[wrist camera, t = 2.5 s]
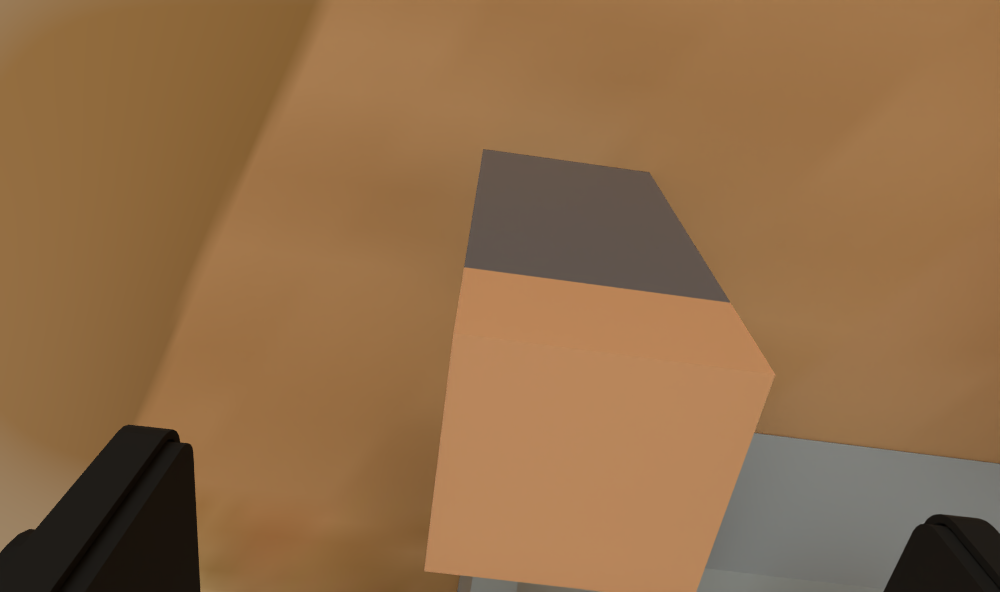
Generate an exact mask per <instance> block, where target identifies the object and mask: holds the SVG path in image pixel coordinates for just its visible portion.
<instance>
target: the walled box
mask: <svg viewBox="0 0 1000 592" xmlns="http://www.w3.org/2000/svg"><path fill="white" fill-rule="evenodd" d="M935 514H945V515H954V516H963V517H972V518H980V519H982V520H985V521H987V522H988V523H990V524H991V525H992V526H993V527H994V528H995V529H996V530H997V531H998V532H999V533H1000V464H997V463H989V462H981V461H973V460H965V459H957V458H949V457H941V456H933V455H925V454H917V453H909V452H901V451H893V450H885V449H877V448H869V447H861V446H853V445H845V444H837V443H829V442H821V441H813V440H805V439H797V438H789V437H781V436H773V435H765V434H757V433H754V435H753V438H752V440H751V443H750V446H749V449H748V451H747V454H746V457H745V459H744V462H743V465H742V468H741V470H740V473H739V476H738V479H737V481H736V484H735V487H734V490H733V492H732V495H731V498H730V501H729V503H728V506H727V509H726V512H725V514H724V517H723V520H722V523H721V525H720V528H719V531H718V534H717V536H716V539H715V542H714V545H713V547H712V550H711V553H710V556H709V558H708V561H707V564H706V566H705V569H704V572H703V575H702V577H701V580H700V583H699V586H698V588H697V591H696V592H883V591H884V589H885V587H886V585H887V583H888V581H889V579H890V577H891V575H892V573H893V571H894V569H895V567H896V565H897V563H898V561H899V559H900V556H901V554H902V552H903V550H904V548H905V546H906V544H907V542H908V540H909V538H910V536H911V534H912V532H913V530H914V529H915V528H916V527H917V526H918V525H920V524H924V523H925V521H926V520H927V519H928V518H929V517H931V516H932V515H935ZM457 592H602V591H593V590H584V589H576V588H567V587H558V586H549V585H541V584H532V583H523V582H515V581H506V580H497V579H488V578H480V577H471V576H462V575H460V579H459V585H458V591H457Z"/></svg>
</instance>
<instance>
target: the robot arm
mask: <svg viewBox="0 0 1000 592" xmlns="http://www.w3.org/2000/svg"><path fill="white" fill-rule="evenodd" d="M0 592H200V576H199V557H198V537H197V517H196V498H195V478H194V459H193V449H192V446H191V445H190V444H188V443H180V439H179V435H178V433H177V431H175V430H172V429H163V428H154V427H145V426H135V425H127V426H124V427H122V428H121V429H120V430H119V431H118V432H117V433H116V434H115V436H114V437H113V438H112V439H111V440H110V442H109V443H108V444H107V445H106V446H105V448H104V449H103V450H102V451H101V452H100V453H99V455H98V456H97V457H96V458H95V459H94V461H93V462H92V463H91V464H90V466H89V467H88V468H87V469H86V470H85V471H84V473H83V474H82V475H81V476H80V477H79V479H78V480H77V481H76V482H75V483H74V484H73V486H72V487H71V488H70V489H69V491H67V493H66V494H65V495H64V496H63V497H62V499H61V500H60V501H59V502H58V503H57V504H56V506H55V507H54V508H53V509H52V511H51V512H50V513H49V514H48V515H47V516H46V518H45V519H44V520H43V521H42V522H41V523H40V525H39V526H38V527H37V528H36V529H35V530H33V529H29V530H27V531H25V532H22V533H20V534H18V535H17V536H16V537H15V538H14V539H13V540H12V541H11V542H10V543H9V544H8V545H7V546H6V547H5V548H4V549H3V550H2V551H1V553H0ZM883 592H1000V533H999V532H998V531H997V530H996V529H995V528H994V527H993V526H992V525H991V524H990V523H988V522H987V521H985V520H982V519H980V518H972V517H963V516H954V515H945V514H935V515H932V516H931V517H929V518H928V519H927V520H926V521H925V523H924V524H920V525H918V526H917V527H916V528H915V529H914V530H913V532H912V534H911V536H910V538H909V540H908V542H907V544H906V546H905V548H904V550H903V552H902V554H901V556H900V559H899V561H898V563H897V565H896V567H895V569H894V571H893V573H892V575H891V577H890V579H889V581H888V583H887V585H886V587H885V589H884V591H883Z"/></svg>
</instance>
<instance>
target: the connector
mask: <svg viewBox="0 0 1000 592" xmlns="http://www.w3.org/2000/svg"><path fill="white" fill-rule="evenodd" d="M774 377H775V373H774V372H773V370H772V369H771V367H770V365H769V364H768V362H767V361H766V359H765V357H764V356H763V354H762V353H761V351H760V349H759V348H758V346H757V345H756V343H755V341H754V340H753V338H752V337H751V335H750V333H749V332H748V330H747V329H746V327H745V325H744V324H743V322H742V320H741V319H740V317H739V316H738V314H737V312H736V311H735V309H734V308H733V306H732V304H731V303H730V301H729V300H728V298H727V296H726V295H725V293H724V292H723V290H722V288H721V287H720V285H719V284H718V282H717V280H716V279H715V277H714V276H713V274H712V272H711V271H710V269H709V268H708V266H707V264H706V263H705V261H704V260H703V258H702V256H701V255H700V253H699V251H698V250H697V248H696V247H695V245H694V243H693V242H692V240H691V239H690V237H689V235H688V234H687V232H686V231H685V229H684V227H683V226H682V224H681V223H680V221H679V219H678V218H677V216H676V215H675V213H674V211H673V210H672V208H671V207H670V205H669V203H668V202H667V200H666V199H665V197H664V195H663V194H662V192H661V191H660V189H659V187H658V186H657V184H656V182H655V181H654V179H653V178H652V176H651V174H650V173H649V172H642V171H635V170H628V169H621V168H614V167H606V166H599V165H592V164H585V163H578V162H571V161H564V160H557V159H550V158H542V157H535V156H528V155H521V154H514V153H507V152H500V151H493V150H486V149H483V154H482V161H481V167H480V173H479V179H478V185H477V191H476V198H475V204H474V210H473V216H472V222H471V229H470V235H469V241H468V247H467V253H466V259H465V266H464V272H463V278H462V284H461V290H460V297H459V303H458V309H457V315H456V321H455V327H454V334H453V342H452V350H451V358H450V366H449V374H448V382H447V390H446V398H445V406H444V414H443V423H442V431H441V439H440V447H439V455H438V463H437V471H436V479H435V487H434V495H433V503H432V511H431V520H430V528H429V536H428V544H427V552H426V560H425V568H424V571H427V572H436V573H445V574H453V575H462V576H471V577H480V578H488V579H497V580H506V581H515V582H523V583H532V584H541V585H549V586H558V587H567V588H576V589H584V590H593V591H602V592H696V591H697V588H698V586H699V583H700V580H701V577H702V575H703V572H704V569H705V566H706V564H707V561H708V558H709V556H710V553H711V550H712V547H713V545H714V542H715V539H716V536H717V534H718V531H719V528H720V525H721V523H722V520H723V517H724V514H725V512H726V509H727V506H728V503H729V501H730V498H731V495H732V492H733V490H734V487H735V484H736V481H737V479H738V476H739V473H740V470H741V468H742V465H743V462H744V459H745V457H746V454H747V451H748V449H749V446H750V443H751V440H752V438H753V435H754V432H755V429H756V427H757V424H758V421H759V418H760V416H761V413H762V410H763V407H764V405H765V402H766V399H767V396H768V394H769V391H770V388H771V385H772V383H773V380H774Z"/></svg>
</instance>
